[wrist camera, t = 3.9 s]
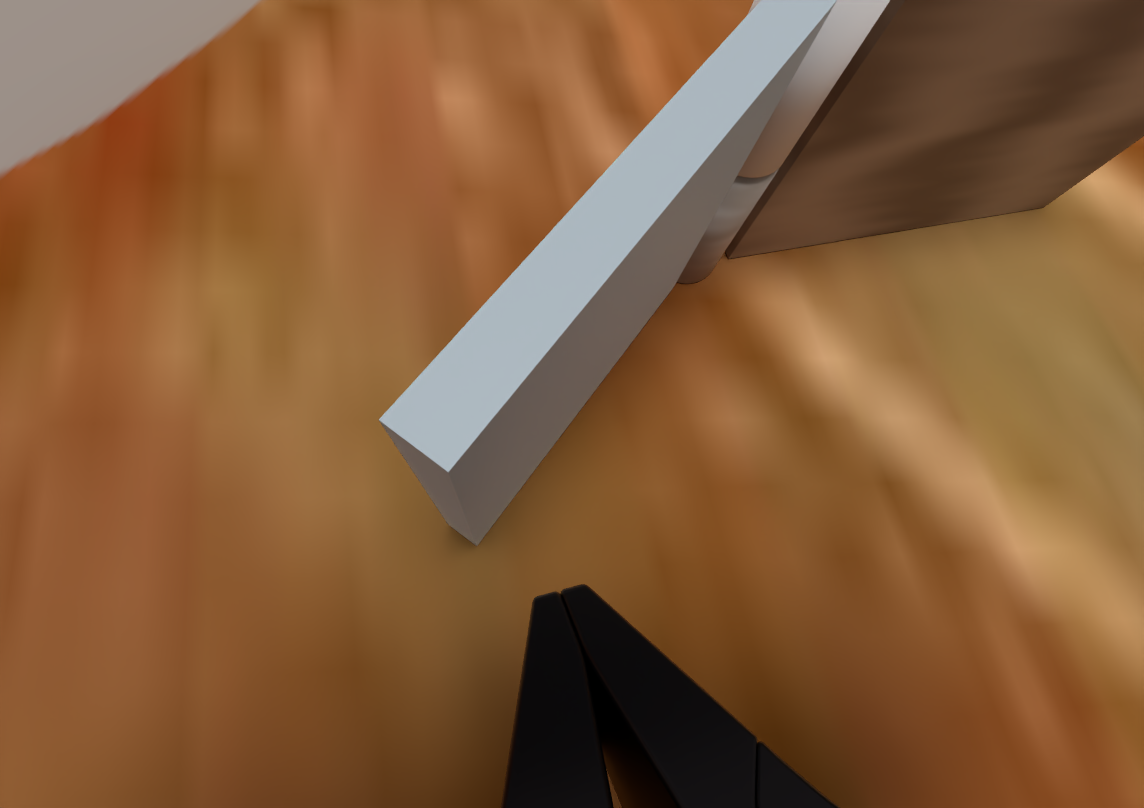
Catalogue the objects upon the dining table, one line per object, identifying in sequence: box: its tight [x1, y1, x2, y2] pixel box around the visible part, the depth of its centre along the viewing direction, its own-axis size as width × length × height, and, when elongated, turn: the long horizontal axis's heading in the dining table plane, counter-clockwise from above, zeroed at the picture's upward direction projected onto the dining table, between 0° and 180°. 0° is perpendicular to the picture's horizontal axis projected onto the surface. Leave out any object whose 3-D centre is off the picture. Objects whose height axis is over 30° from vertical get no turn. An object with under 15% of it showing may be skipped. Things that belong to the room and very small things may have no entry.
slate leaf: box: [379, 0, 890, 546], centre depth 13 cm, size 13×2×10 cm, turn 144°
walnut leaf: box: [677, 0, 1144, 284], centre depth 16 cm, size 17×2×10 cm, turn 105°
